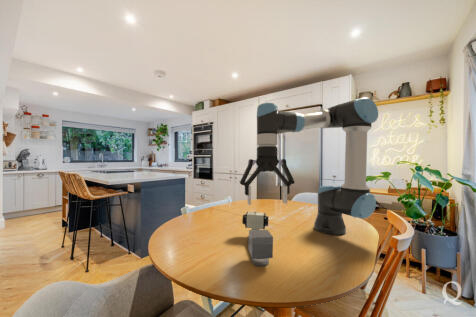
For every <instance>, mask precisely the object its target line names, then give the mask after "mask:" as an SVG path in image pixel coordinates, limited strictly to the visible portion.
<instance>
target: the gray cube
mask: <svg viewBox="0 0 476 317" xmlns="http://www.w3.org/2000/svg"><path fill="white" fill-rule="evenodd" d="M248 237H249V244H248V252H249V255H250V257H251V260H252V259H259V258H269V259H273V258H274V256H273V254H274V236H273V235H272V233H271V232H270V231H269V230H268V229H260V230H250V229H249V230H248Z"/></svg>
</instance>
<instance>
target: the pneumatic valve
mask: <svg viewBox="0 0 476 317" xmlns="http://www.w3.org/2000/svg"><path fill="white" fill-rule="evenodd" d="M266 214H267V213H266V212H257V210H255V211H254V212H253V211H246V212H245V214H243V215H242V221H241V222H242V224H243V225H244V227H245V228H244V229H251V230H266V227H269V216H267V215H266Z"/></svg>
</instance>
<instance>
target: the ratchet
mask: <svg viewBox="0 0 476 317" xmlns="http://www.w3.org/2000/svg"><path fill="white" fill-rule="evenodd" d="M247 244H248V245H249V236H247ZM251 263H252V265H254V266H255V267H261V268H262V267H267V266H268V265H269V263H270V258H259V259H252V258H251Z"/></svg>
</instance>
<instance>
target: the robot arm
mask: <svg viewBox="0 0 476 317" xmlns="http://www.w3.org/2000/svg"><path fill="white" fill-rule="evenodd" d="M378 118H379V109H378V106H377V105H376V103H375V102H374V100H373V99H371V98H369V97H361V98H360V97H359V98H356V99H354V100H350V101H347V102H342V103H340V104H339V103H338V104H336V105H334V106H331V107H328V108H324V109H319V110H318V111H317V112H310V113H309V112H308V113H300V112H295V111H294V112H292V111H291V112H290V111H281V110H279V109H278V105H277V104H276V103H274V102H264V103H261V104H259V105H258V106H257V109H256V145H257V148H256V159H252V158H250V159H248V162H247V164H248V165H247V167H246V169H245V170H244V173H243V175H242V177H241V179H240V181H239V184H240V185H242V186H244V195H245V196H247V204H248V205H249V206H251V205H252V186H251V183H253V181H254V180H255V178H256V177H257V176H258V175H259V174H260V173H261V172H274V173H275V175H277V177H278V178H279V179H280V180H281V182H282V183H283V184H282V203H283V204H285V205H287V204H288V195H289V194H290V192H291V191H290V190H291V189H290V187H291V185H294V184H295V183H296V182H295V180H294V178H293V175H292V174H291V171H290V169H289V167H288V165H287V159H286V158H281V159H278V158H279V157H278V152H279V151H278V143H279V142H278V135H280V134H285V133H300V132H301V131H304V130H310V129H316V128H319V129H321V130H323V129H330V128H331V129H334V128H341V129H342V130H343V131H344V132H345V152H344V154H345V156H344V160H345V161H344V183H343V184H342V185H321V186H319V187H318V191H317V215H316V218H315V221H314V223H313V226H314V227H313V229H314V230H316V231H317V232H320V233H324V234H326V235H327V234H328V235H336V236H337V235H344V234H345V235H346V233H347V228H346V224H345V221H344V218H343V215H347V216H350V217H352V218H355V219H356V218H357V219H362V220H363V219H368V218H370V217H371V216H372V215H373V213H374V212H375V210H376V206H377V200H376V197H375V195H374V194H372V193H371V192H370V191H371V188H370V187H369V186H368V185H367V160H368V158H367V157H368V156H367V154H368V153H367V152H368V151H367V150H368V132H369V131H370V130H371V129H372V123H373V124H374V123H375V122H376V121H377V119H378ZM255 164H256V166H257V167H256V169H255V170H254V171H253V173H252V174H251V175H250V176H249V174H250V172H251V170H252V168H253V166H254V165H255ZM278 165H280V166H281V169H282V170H283V172H284V174H285V176H286V177H285V176H284V174H283V173H282V172H281V171H280V169H279V168H278ZM248 176H249V177H248ZM247 178H248V179H247Z"/></svg>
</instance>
